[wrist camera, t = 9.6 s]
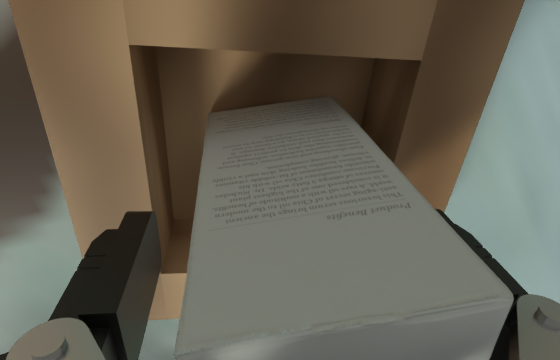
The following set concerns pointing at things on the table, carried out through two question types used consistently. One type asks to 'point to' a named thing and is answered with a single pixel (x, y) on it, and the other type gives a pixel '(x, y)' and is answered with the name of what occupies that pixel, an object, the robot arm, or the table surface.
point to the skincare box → (324, 250)
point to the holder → (246, 93)
